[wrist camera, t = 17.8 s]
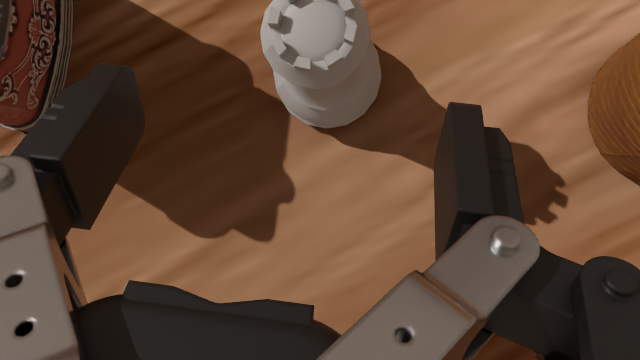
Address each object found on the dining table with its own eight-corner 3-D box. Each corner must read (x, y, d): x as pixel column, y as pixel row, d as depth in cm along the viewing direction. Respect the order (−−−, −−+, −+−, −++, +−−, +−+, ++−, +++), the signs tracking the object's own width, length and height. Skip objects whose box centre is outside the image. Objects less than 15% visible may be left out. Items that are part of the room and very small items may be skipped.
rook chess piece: (297, 144, 23) (265, 127, 15) (261, 47, 23) (210, -21, 15) (396, 107, 23) (415, 70, 15) (359, 8, 23) (359, -81, 15)
